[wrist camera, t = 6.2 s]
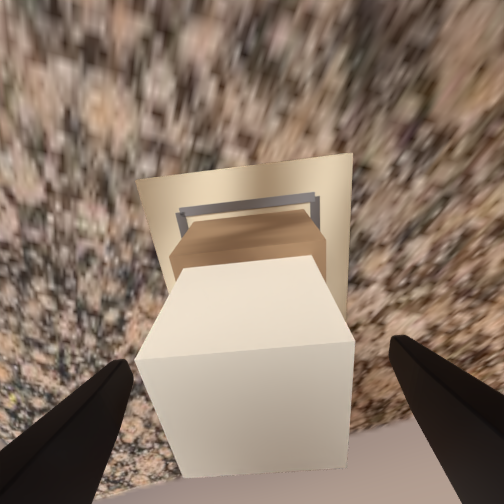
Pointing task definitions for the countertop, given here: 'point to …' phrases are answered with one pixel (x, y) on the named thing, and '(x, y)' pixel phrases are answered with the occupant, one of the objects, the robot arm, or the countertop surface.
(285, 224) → the walnut block
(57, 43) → the countertop surface
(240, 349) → the cream block
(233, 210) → the build plate
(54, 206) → the countertop surface
